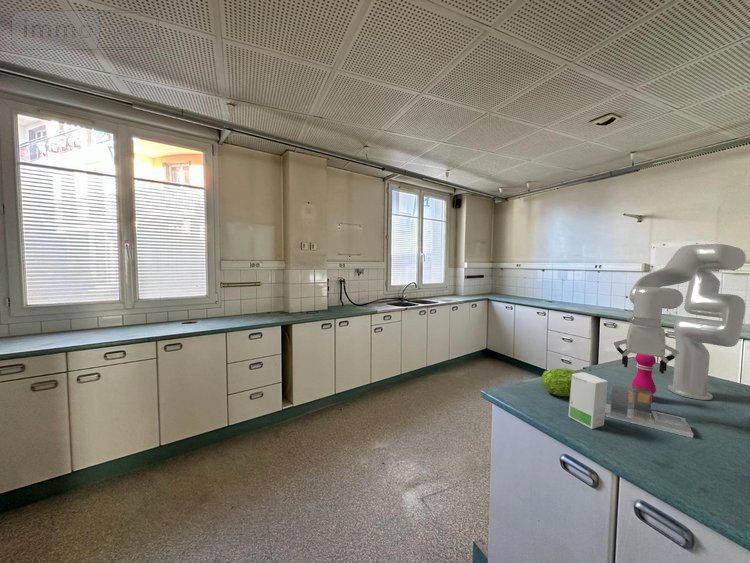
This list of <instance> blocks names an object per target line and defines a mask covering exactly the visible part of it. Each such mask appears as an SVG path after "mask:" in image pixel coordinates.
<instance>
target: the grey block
mask: <svg viewBox="0 0 750 563" xmlns="http://www.w3.org/2000/svg"><path fill="white" fill-rule="evenodd" d="M632 393H633V401H632V410H636V411H640V412H645V413H649V414H651V411H652V409H651V408H652V401H651V398H652V395H653V394H652V393H651V390H650V389H648V388H642V387H637V386H634V389H633V391H632Z"/></svg>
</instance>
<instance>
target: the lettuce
mask: <svg viewBox="0 0 750 563" xmlns="http://www.w3.org/2000/svg"><path fill="white" fill-rule="evenodd" d="M576 373H578V371H577V372H576V370H573V369H571V368H567V367H559V368H556V367H554V368H551V369H547V370H544V372H543V374H541V383H542V386H543V388H544V389H545V390H546V392H547V393H549V394H552V395H555V396H558V397H570V392H571V380H572V374H576Z"/></svg>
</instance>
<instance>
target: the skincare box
mask: <svg viewBox="0 0 750 563" xmlns="http://www.w3.org/2000/svg"><path fill="white" fill-rule="evenodd" d="M608 385H609V381H608V380H606V379H605V378H602V377H598V376H597V375H594V374H590V373H588V372H584V371H581V372H577V373H576V374H572V380H571V392H570V396H569V404H568V406H569V407H568V417H569V418H570V419H572V420H574V421H575V422H578V423H579V424H581V425H584V426H586V427H587V428H589V429H591V430H593V429H597V428H599V427H600V428H601V427H604V425H605V417H606V416H605V409H606V404H607V396H608V387H609V386H608Z"/></svg>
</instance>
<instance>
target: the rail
mask: <svg viewBox="0 0 750 563" xmlns="http://www.w3.org/2000/svg"><path fill="white" fill-rule="evenodd" d="M609 400H610V402H609V403H610V404H609V403H606V409H605V417H607V418H611V419H614V420H619V421H623V422H627V423H631V424H636V425H638V426H643V427H647V428H651V429H656V430H660V431H664V432H666V433H672V434H676V435H679V436H682V437H687V438H692V439H693V438H694V432H693V431H692V428H691V426H690V424H689V423H688V422H687V420H686V418H685V417H681V416H677V415H673V414H669V413H664V412H659V411H654V410H651V412H650V414H649V413H645V412H640V411H636V410H633V409H630V408H628V407H629V406H628V405H629V403H631V404H633V391H631V390H628V388H627V387H622V386H617V385H612V384H611V385H610V399H609Z"/></svg>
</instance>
